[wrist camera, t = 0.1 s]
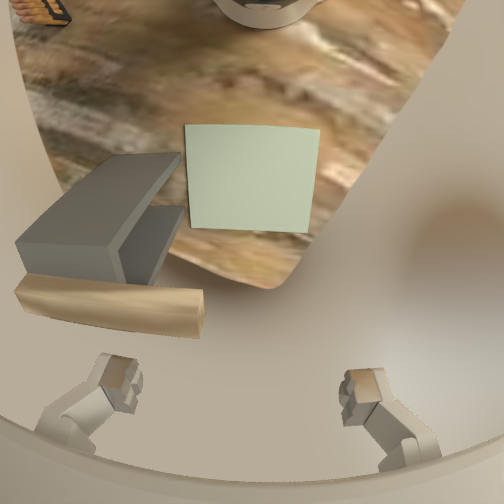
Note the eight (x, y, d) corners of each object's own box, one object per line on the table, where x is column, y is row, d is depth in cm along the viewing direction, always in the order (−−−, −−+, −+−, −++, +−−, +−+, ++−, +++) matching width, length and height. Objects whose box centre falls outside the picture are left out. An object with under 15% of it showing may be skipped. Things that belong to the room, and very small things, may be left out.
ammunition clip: (72, 20, 30) (26, 18, 20) (64, 27, 31) (18, 28, 21) (50, -15, 25) (5, -20, 15) (43, -7, 26) (-2, -10, 16)
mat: (185, 124, 42) (185, 125, 42) (319, 129, 42) (320, 130, 41) (191, 226, 52) (191, 227, 52) (306, 231, 52) (307, 233, 52)
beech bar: (27, 272, 26) (13, 291, 23) (202, 289, 26) (196, 315, 23) (37, 293, 28) (25, 311, 25) (205, 313, 27) (200, 339, 25)
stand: (112, 155, 45) (14, 242, 24) (180, 152, 45) (107, 246, 23) (122, 212, 51) (50, 317, 30) (185, 213, 51) (134, 332, 30)
